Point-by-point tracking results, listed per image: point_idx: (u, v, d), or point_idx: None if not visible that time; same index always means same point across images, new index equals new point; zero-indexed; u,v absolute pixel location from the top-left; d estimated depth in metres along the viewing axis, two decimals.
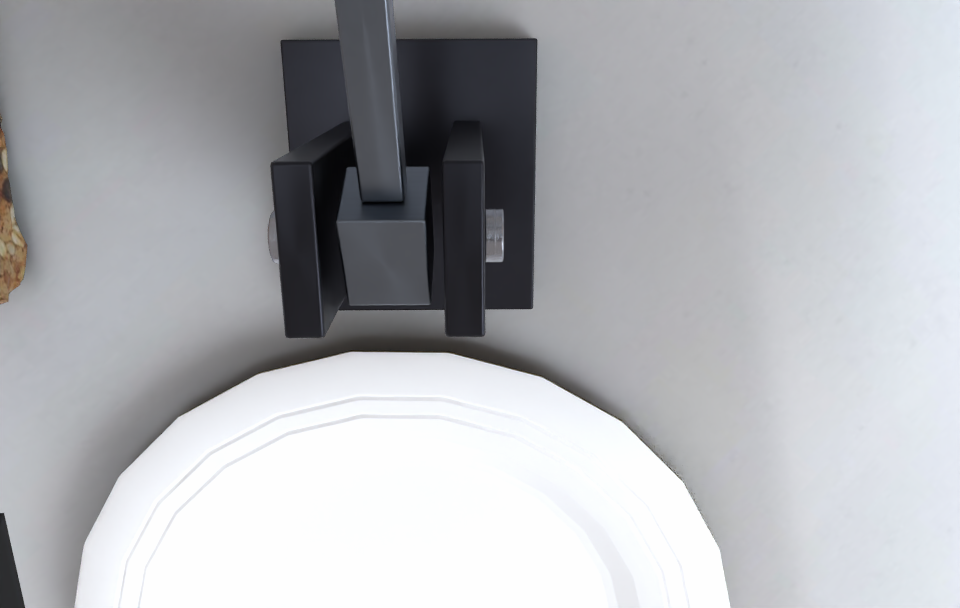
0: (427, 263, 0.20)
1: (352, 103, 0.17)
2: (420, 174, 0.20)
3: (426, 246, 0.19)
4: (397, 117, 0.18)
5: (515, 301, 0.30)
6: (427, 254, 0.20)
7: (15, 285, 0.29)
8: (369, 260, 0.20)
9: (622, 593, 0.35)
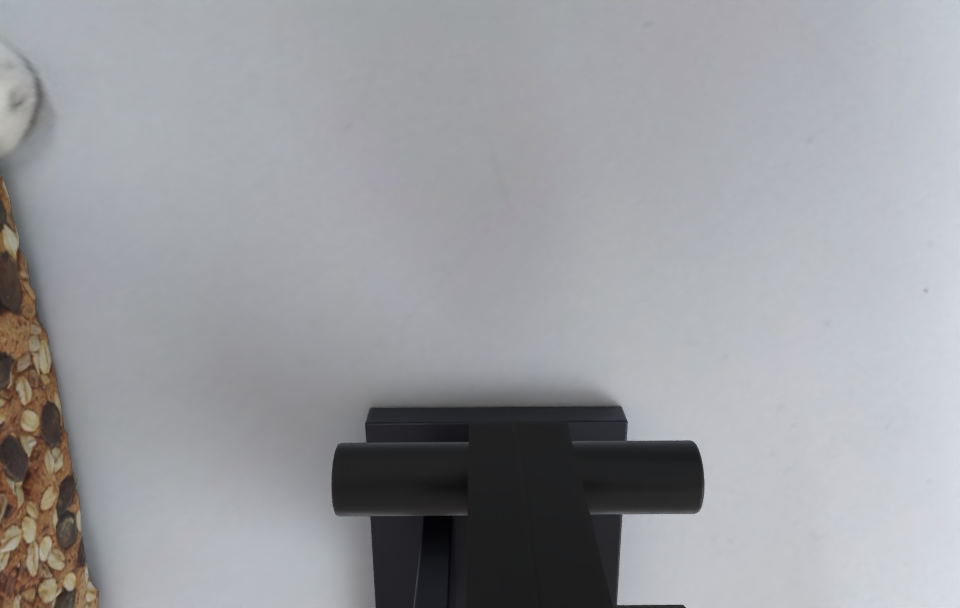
0: None
1: None
2: None
3: None
4: None
5: None
6: None
7: None
8: None
9: None
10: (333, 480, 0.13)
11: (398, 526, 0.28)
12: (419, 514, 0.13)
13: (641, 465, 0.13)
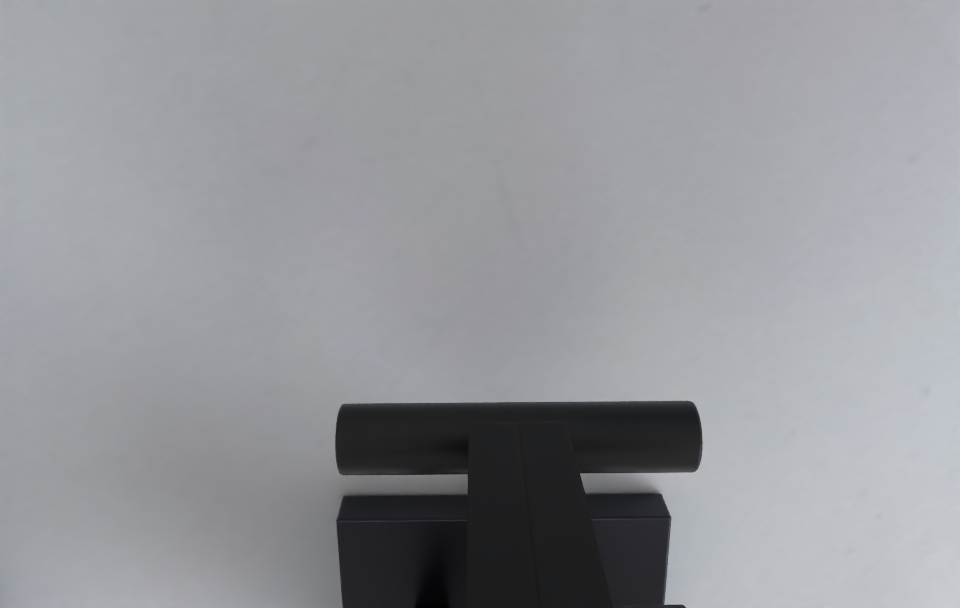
0: None
1: None
2: None
3: None
4: None
5: None
6: None
7: None
8: None
9: None
10: (338, 418, 0.13)
11: None
12: (420, 460, 0.13)
13: (637, 408, 0.13)
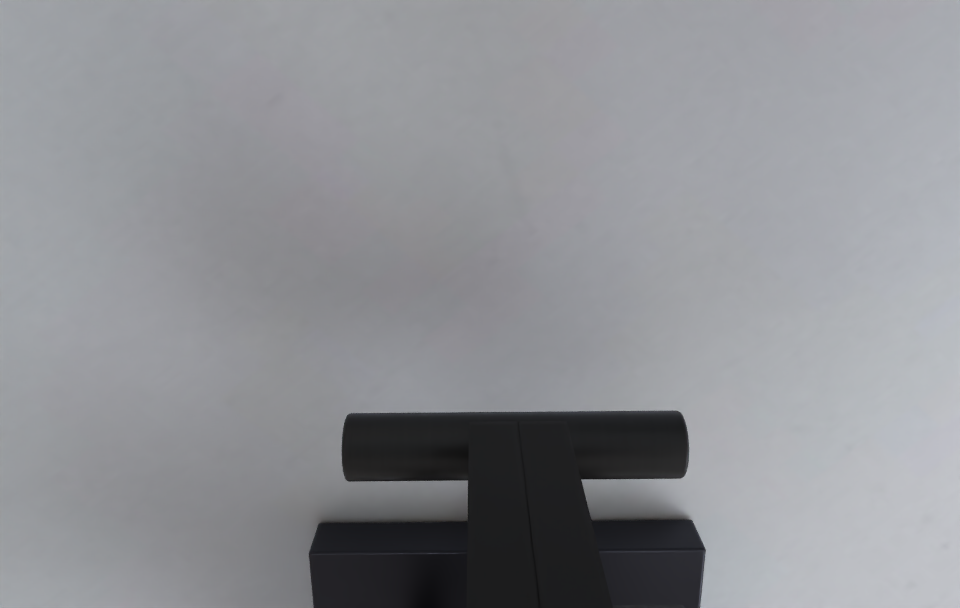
0: None
1: None
2: None
3: None
4: None
5: None
6: None
7: None
8: None
9: None
10: (346, 419, 0.14)
11: None
12: (422, 455, 0.13)
13: None
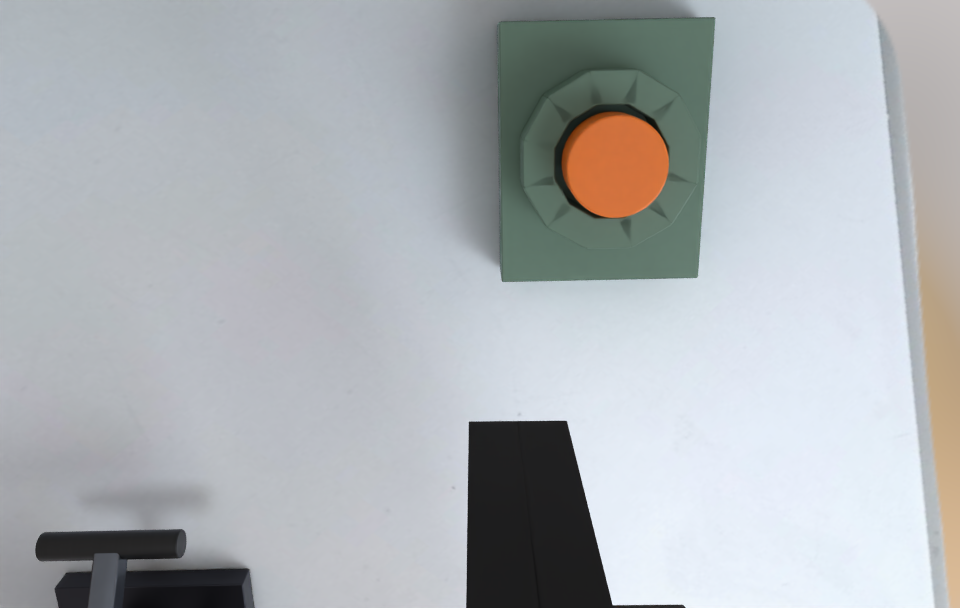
0: None
1: None
2: None
3: None
4: None
5: None
6: None
7: None
8: None
9: None
10: (40, 536, 0.34)
11: None
12: (67, 551, 0.33)
13: (158, 531, 0.34)
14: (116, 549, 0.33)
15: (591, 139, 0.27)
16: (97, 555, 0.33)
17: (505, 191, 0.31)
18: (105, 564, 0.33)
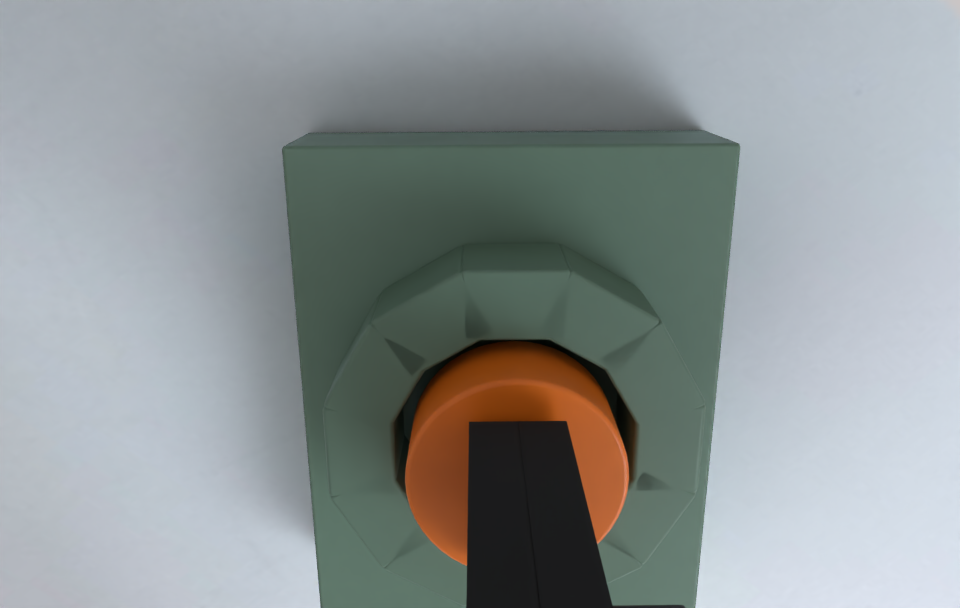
0: None
1: None
2: None
3: None
4: None
5: None
6: None
7: None
8: None
9: None
10: None
11: None
12: None
13: None
14: None
15: (456, 429, 0.12)
16: None
17: (317, 467, 0.16)
18: None
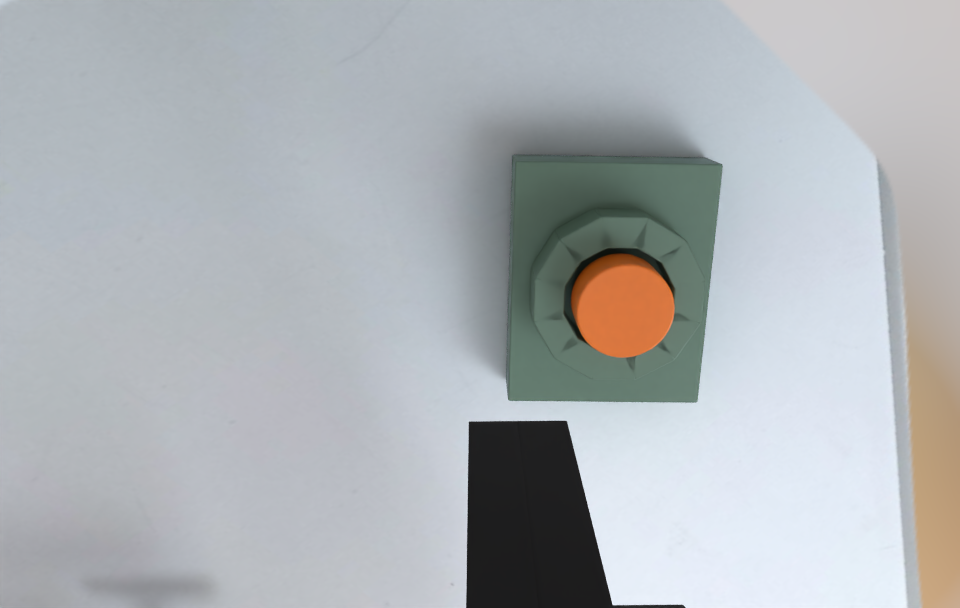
0: None
1: None
2: None
3: None
4: None
5: None
6: None
7: None
8: None
9: None
10: None
11: None
12: None
13: None
14: None
15: (601, 286, 0.28)
16: None
17: (515, 317, 0.32)
18: None
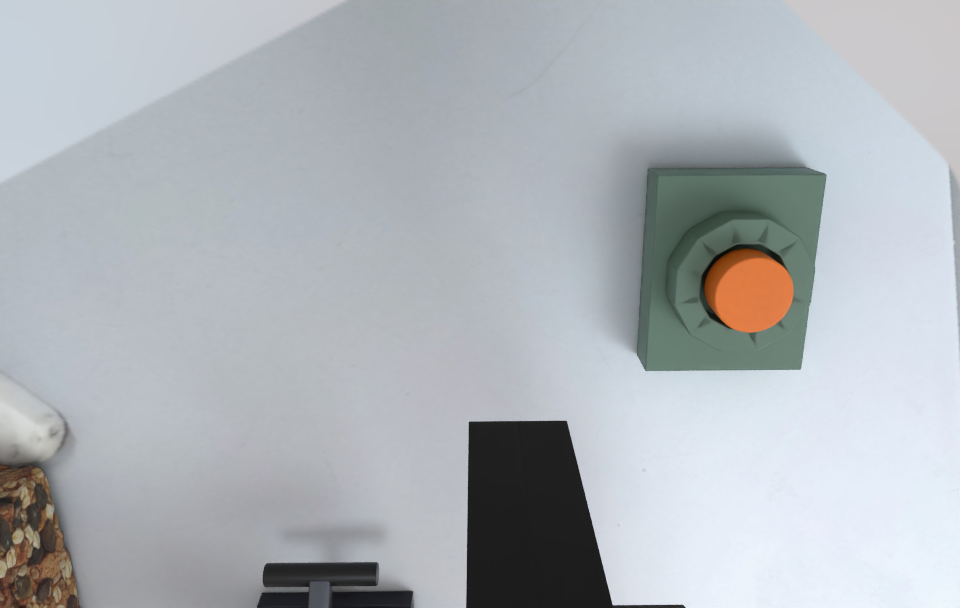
0: None
1: None
2: None
3: None
4: None
5: None
6: None
7: None
8: None
9: None
10: (265, 566, 0.42)
11: None
12: (288, 579, 0.41)
13: (358, 563, 0.42)
14: (327, 578, 0.41)
15: (735, 275, 0.35)
16: (312, 583, 0.41)
17: (653, 302, 0.39)
18: (319, 590, 0.41)
